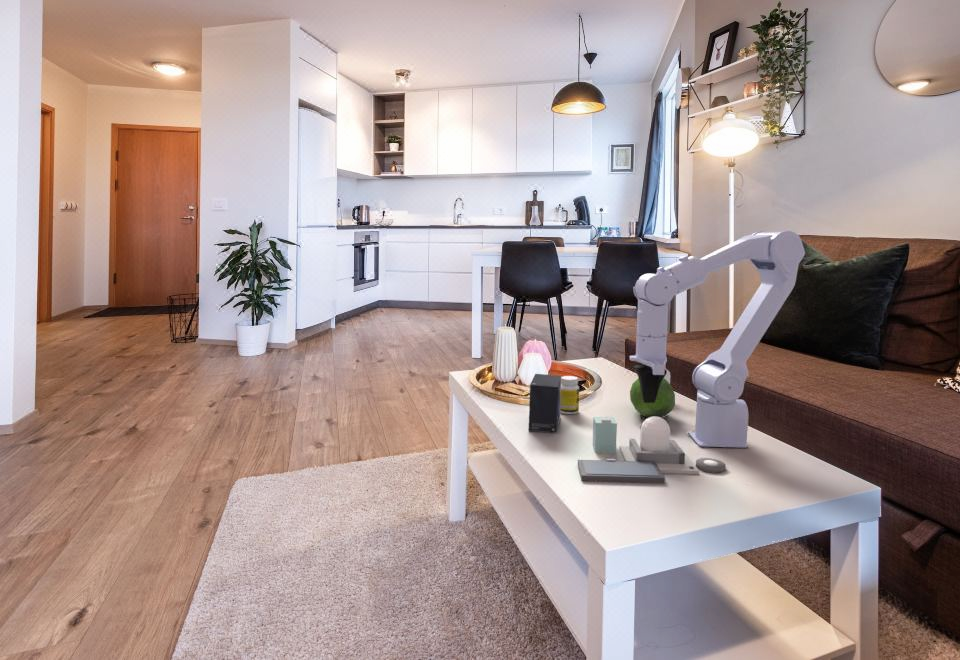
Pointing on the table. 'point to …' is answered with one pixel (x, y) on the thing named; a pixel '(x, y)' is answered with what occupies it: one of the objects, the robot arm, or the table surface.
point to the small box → (545, 403)
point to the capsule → (655, 435)
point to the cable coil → (710, 465)
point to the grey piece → (661, 458)
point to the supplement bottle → (569, 395)
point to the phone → (620, 471)
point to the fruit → (662, 402)
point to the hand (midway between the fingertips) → (648, 401)
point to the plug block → (604, 434)
